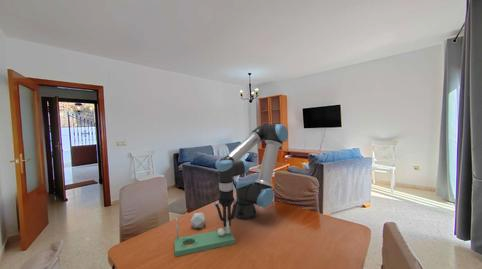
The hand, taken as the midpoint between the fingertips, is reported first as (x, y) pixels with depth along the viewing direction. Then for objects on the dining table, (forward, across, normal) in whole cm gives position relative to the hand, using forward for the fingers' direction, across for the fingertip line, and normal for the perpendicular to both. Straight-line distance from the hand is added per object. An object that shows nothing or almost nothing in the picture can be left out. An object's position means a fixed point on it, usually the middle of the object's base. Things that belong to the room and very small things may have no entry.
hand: (227, 232), depth 113 cm
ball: (-1, +3, 0) cm, 3 cm away
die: (+4, +13, -19) cm, 24 cm away
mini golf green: (+4, +12, 0) cm, 13 cm away
